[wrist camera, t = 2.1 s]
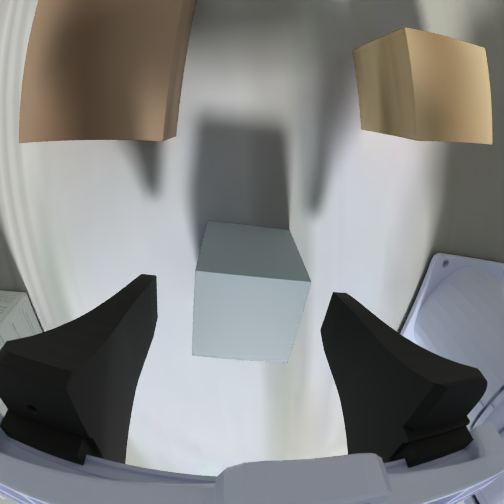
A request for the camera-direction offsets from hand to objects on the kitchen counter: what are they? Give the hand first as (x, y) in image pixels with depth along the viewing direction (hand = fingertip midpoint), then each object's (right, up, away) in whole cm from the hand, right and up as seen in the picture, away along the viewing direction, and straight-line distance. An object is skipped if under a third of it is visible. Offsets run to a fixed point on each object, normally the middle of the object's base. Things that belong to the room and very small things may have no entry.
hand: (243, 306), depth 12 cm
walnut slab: (-6, +11, -1) cm, 13 cm away
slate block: (0, +2, +4) cm, 4 cm away
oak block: (+7, +10, 0) cm, 12 cm away
